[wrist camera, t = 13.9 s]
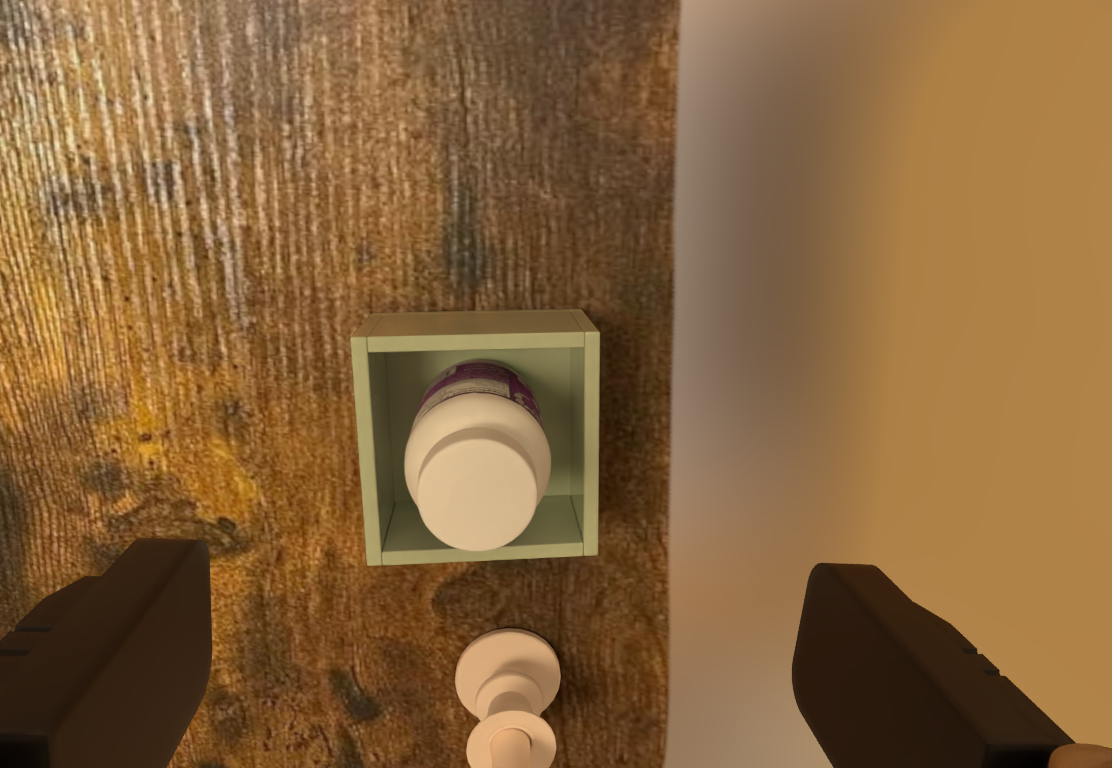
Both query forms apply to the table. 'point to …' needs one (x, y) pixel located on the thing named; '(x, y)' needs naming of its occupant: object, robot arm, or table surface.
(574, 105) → the table surface
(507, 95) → the table surface
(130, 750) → the robot arm
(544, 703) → the candle
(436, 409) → the pill bottle
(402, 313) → the green open box
